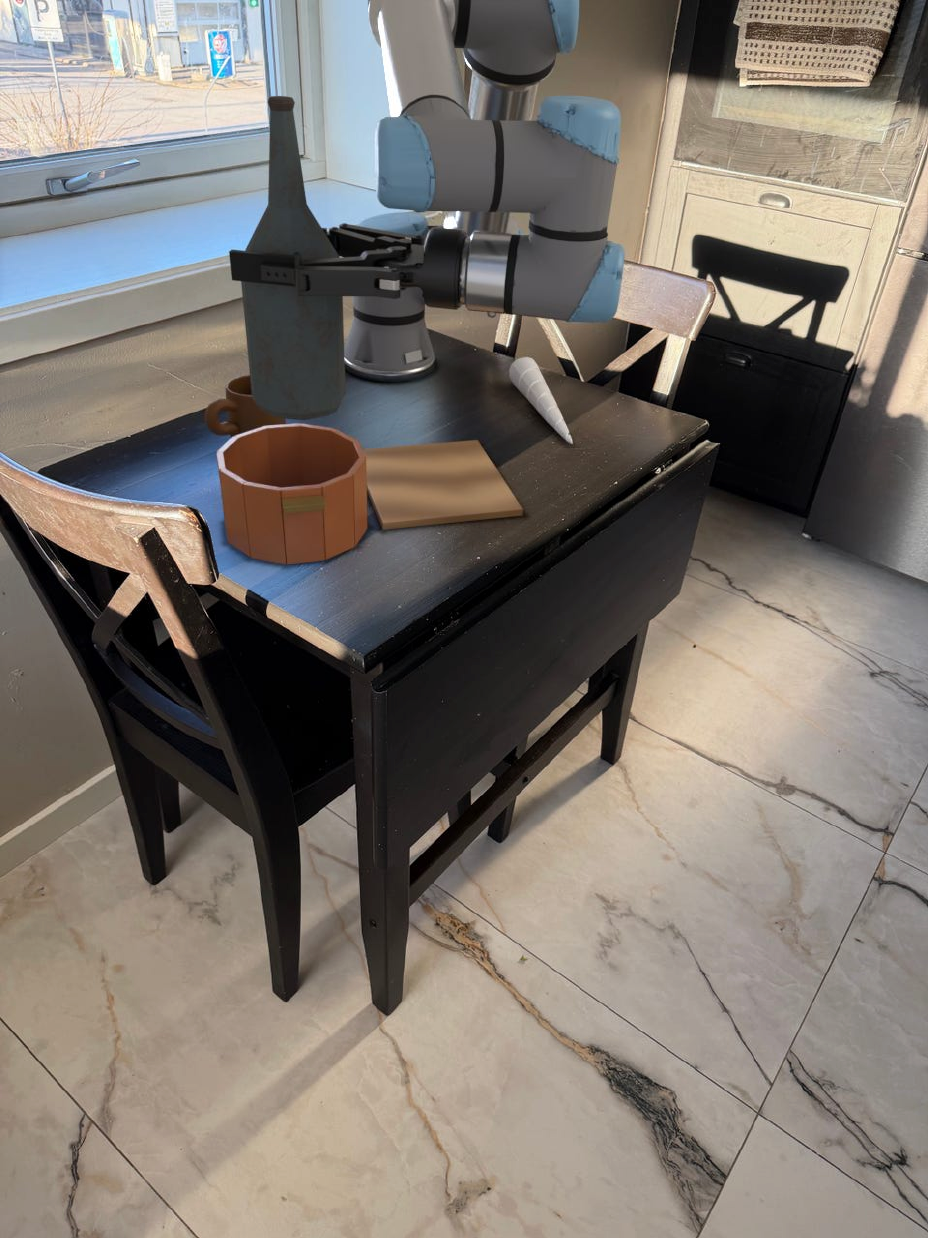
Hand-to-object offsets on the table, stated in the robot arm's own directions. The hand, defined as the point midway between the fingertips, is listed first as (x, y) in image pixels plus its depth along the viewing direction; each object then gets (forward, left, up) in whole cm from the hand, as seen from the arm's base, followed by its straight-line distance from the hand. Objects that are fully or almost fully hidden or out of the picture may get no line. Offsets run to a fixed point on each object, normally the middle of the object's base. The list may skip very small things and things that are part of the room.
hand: (250, 250), depth 92 cm
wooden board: (-5, +21, -32) cm, 38 cm away
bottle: (+2, +4, -16) cm, 17 cm away
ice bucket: (+2, +2, -32) cm, 32 cm away
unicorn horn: (-25, +44, -32) cm, 60 cm away
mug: (-18, -2, -32) cm, 36 cm away
